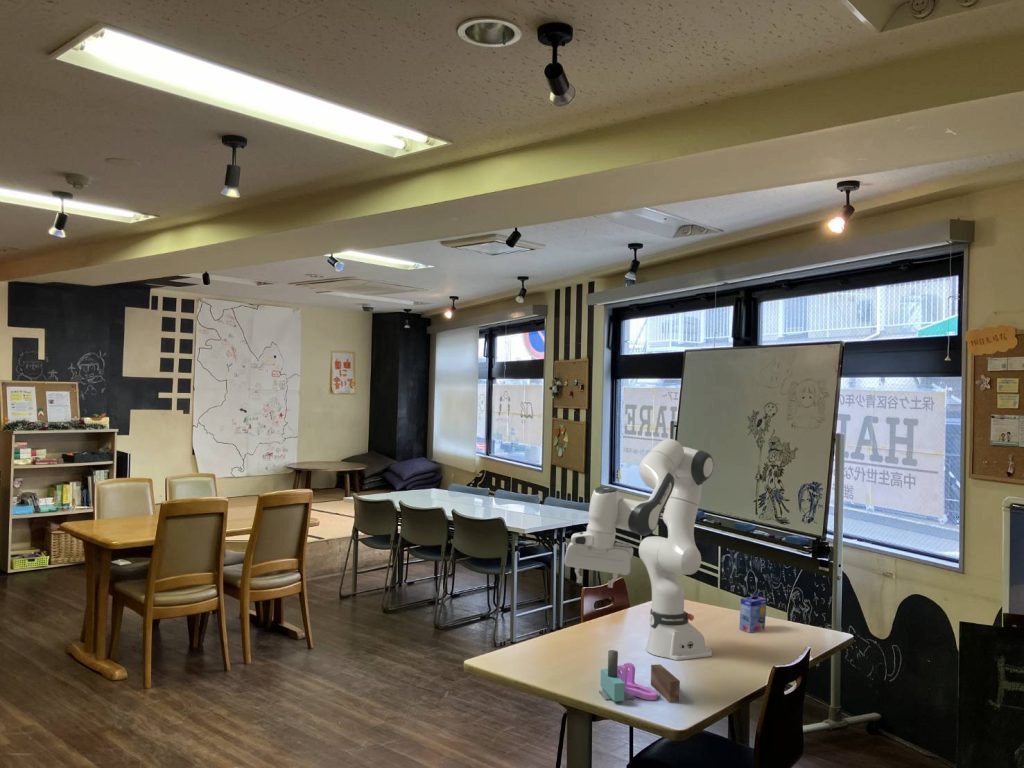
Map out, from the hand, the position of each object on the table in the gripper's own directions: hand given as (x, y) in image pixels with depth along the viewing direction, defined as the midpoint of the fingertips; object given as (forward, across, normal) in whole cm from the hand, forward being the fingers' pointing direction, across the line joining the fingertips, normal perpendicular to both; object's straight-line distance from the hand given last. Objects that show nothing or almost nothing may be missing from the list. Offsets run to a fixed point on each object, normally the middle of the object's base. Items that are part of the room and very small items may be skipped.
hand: (594, 584), depth 228 cm
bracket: (+29, -16, +5) cm, 33 cm away
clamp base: (+29, -15, +6) cm, 33 cm away
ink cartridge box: (+25, -64, -71) cm, 99 cm away
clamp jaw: (+29, -9, +8) cm, 32 cm away
